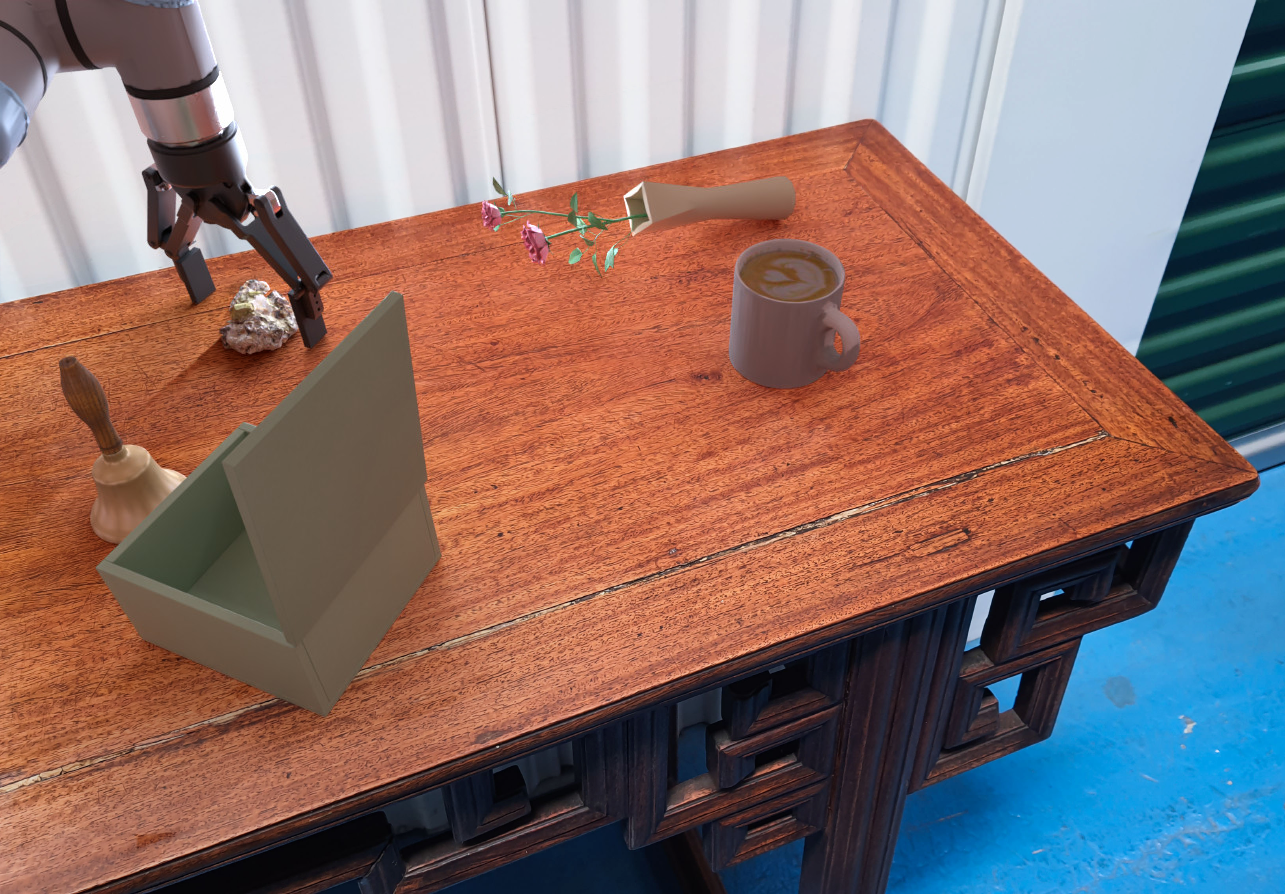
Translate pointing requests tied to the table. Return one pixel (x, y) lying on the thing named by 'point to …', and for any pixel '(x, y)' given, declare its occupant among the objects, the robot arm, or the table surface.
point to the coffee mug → (789, 314)
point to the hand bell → (114, 461)
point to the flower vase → (659, 211)
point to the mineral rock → (258, 319)
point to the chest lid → (332, 468)
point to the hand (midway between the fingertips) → (261, 323)
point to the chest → (258, 591)
